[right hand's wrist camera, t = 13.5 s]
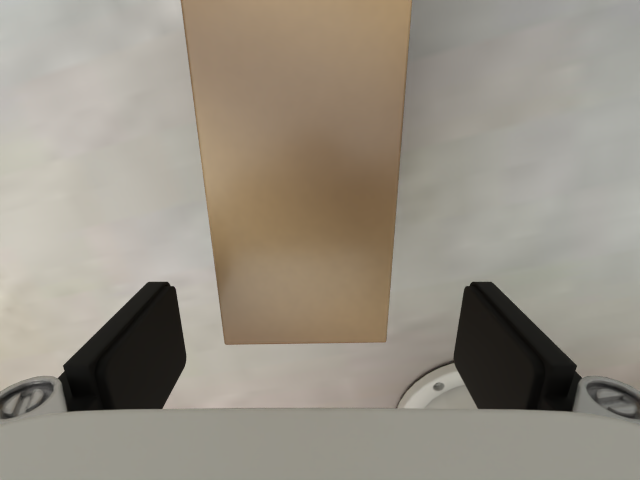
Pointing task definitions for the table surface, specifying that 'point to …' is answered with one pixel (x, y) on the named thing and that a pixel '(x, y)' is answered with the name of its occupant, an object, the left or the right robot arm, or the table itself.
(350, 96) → the tan elongated box
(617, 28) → the table surface
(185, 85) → the table surface
